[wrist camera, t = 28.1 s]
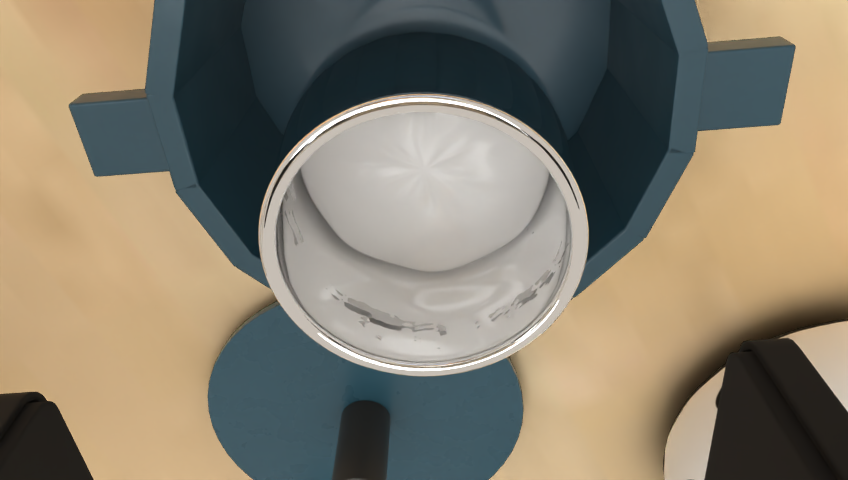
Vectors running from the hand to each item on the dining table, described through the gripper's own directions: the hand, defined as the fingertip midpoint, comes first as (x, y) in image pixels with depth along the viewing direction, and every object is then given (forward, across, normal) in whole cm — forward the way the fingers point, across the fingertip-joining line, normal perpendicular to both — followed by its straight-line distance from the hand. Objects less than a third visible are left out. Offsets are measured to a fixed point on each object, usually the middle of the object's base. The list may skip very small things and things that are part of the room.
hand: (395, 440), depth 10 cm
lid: (+20, +4, +19) cm, 27 cm away
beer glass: (+20, -1, 0) cm, 20 cm away
